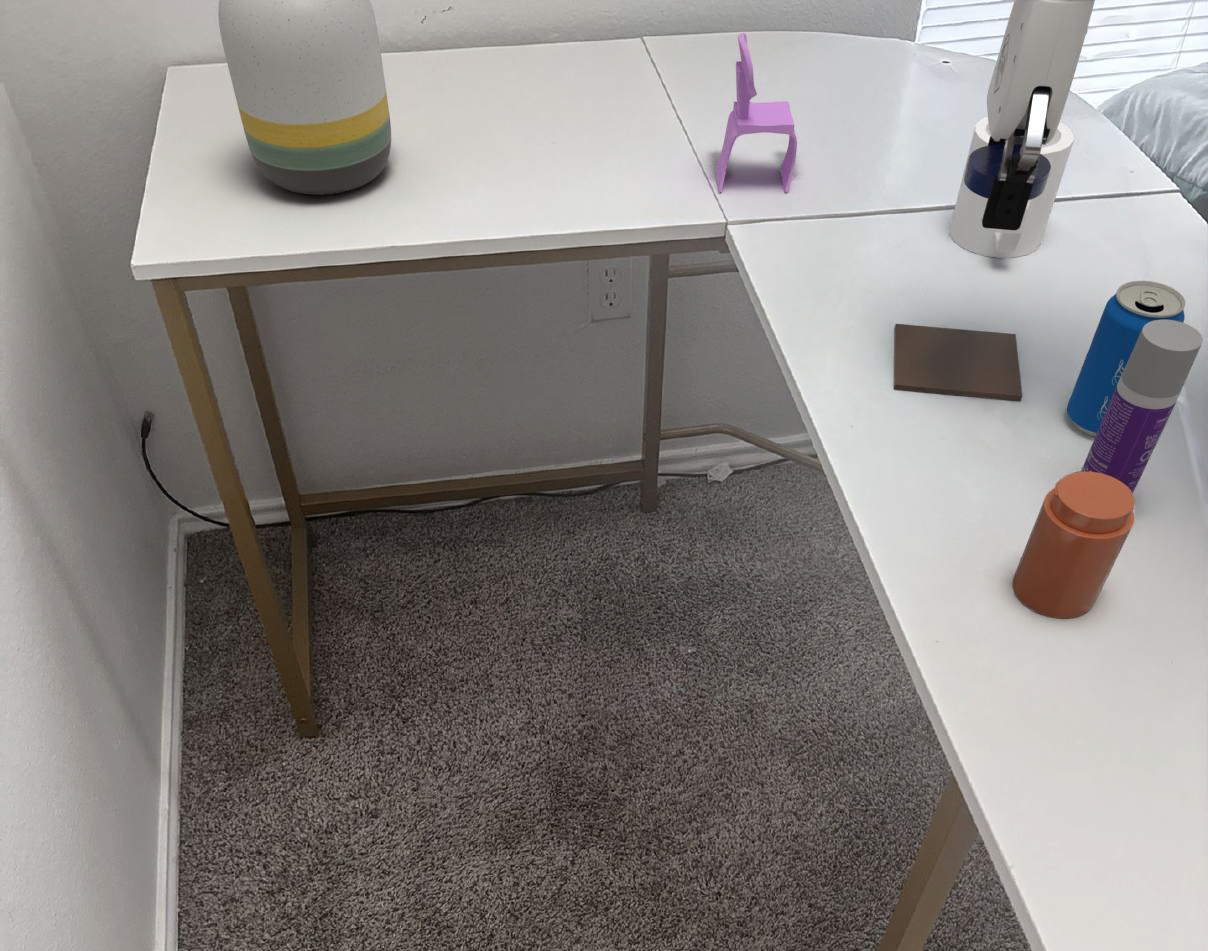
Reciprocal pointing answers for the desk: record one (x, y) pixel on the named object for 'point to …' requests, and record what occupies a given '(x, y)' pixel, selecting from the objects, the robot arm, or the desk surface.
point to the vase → (309, 90)
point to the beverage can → (1118, 346)
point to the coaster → (956, 362)
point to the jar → (1074, 544)
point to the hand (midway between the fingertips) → (998, 205)
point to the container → (1143, 400)
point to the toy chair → (755, 119)
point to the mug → (1036, 215)
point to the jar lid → (987, 165)
